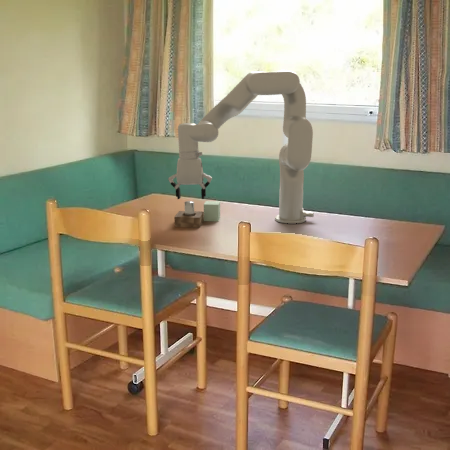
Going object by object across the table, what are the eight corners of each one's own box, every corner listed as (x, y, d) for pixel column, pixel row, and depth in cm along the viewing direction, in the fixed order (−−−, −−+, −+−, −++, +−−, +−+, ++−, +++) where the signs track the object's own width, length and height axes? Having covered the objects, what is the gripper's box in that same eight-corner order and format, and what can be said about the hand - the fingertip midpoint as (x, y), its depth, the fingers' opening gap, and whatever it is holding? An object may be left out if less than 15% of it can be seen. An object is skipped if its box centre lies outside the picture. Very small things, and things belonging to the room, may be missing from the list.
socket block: (203, 221, 258) (203, 211, 257) (199, 227, 248) (199, 217, 247) (179, 220, 259) (179, 210, 258) (174, 226, 249) (174, 216, 248)
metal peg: (195, 222, 255) (194, 201, 253) (193, 225, 252) (193, 203, 249) (185, 222, 256) (185, 200, 253) (184, 225, 252) (183, 202, 250)
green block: (220, 217, 264) (220, 201, 262) (218, 221, 258) (218, 204, 256) (205, 217, 264) (205, 201, 262) (203, 221, 258) (203, 204, 257)
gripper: (212, 153, 249) (214, 196, 254) (169, 154, 251) (171, 196, 256) (209, 156, 242) (211, 200, 247) (165, 157, 244) (167, 200, 249)
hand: (191, 198), depth 251 cm, fingers open, 9 cm apart
